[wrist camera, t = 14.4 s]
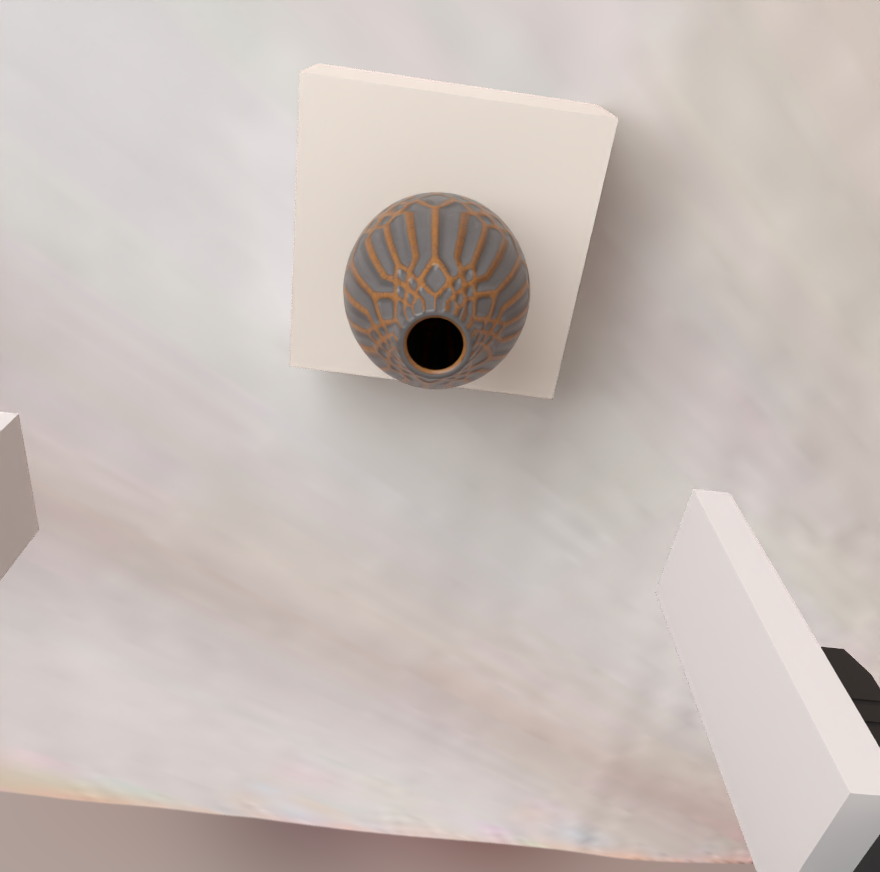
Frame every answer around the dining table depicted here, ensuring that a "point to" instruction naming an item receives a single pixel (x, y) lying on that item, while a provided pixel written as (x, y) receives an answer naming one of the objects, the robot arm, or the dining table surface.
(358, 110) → the riser block
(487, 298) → the vase
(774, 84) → the dining table surface
